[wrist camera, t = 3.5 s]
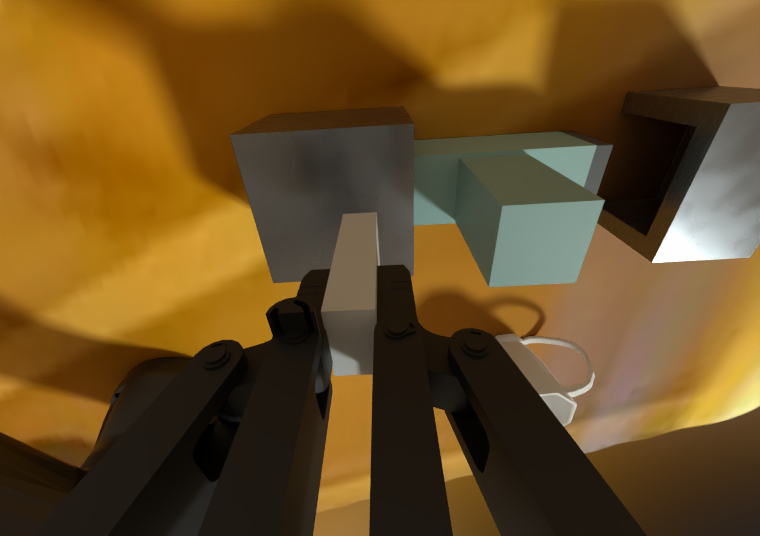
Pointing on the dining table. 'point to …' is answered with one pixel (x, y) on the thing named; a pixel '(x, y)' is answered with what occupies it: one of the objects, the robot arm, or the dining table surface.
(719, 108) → the socket
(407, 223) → the gray block
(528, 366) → the cup
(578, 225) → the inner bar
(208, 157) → the dining table surface
